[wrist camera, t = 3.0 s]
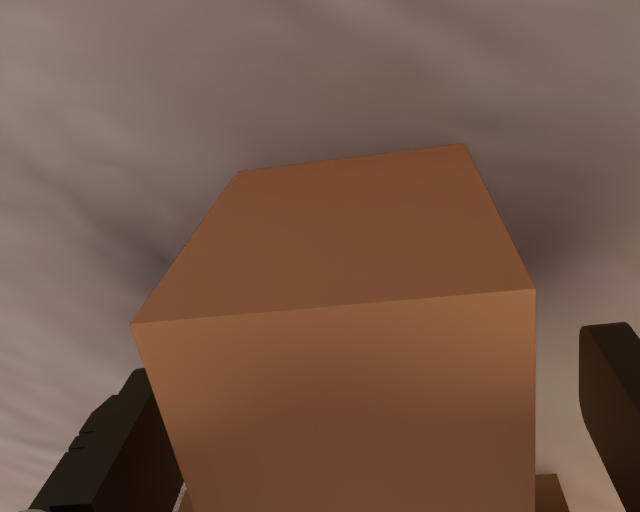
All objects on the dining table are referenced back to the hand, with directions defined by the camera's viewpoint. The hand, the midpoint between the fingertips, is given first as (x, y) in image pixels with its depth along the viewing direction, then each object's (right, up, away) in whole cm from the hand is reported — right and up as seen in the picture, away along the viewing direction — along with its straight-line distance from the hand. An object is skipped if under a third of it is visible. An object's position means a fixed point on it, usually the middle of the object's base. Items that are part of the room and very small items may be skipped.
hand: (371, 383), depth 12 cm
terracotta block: (0, +2, +4) cm, 4 cm away
